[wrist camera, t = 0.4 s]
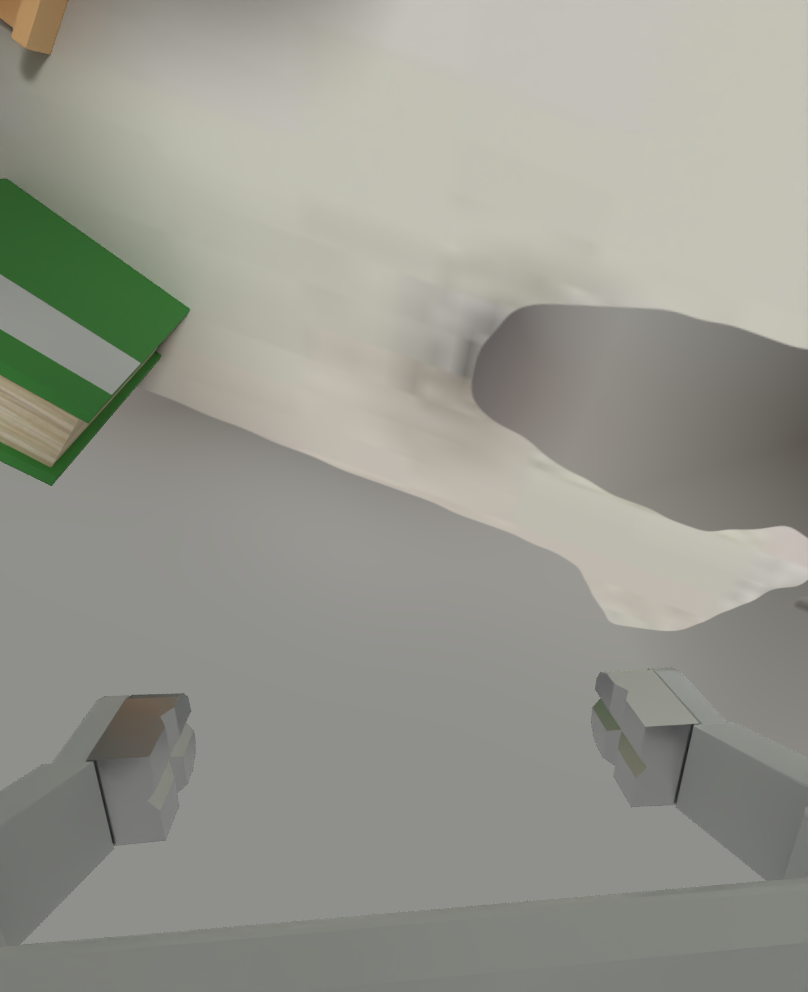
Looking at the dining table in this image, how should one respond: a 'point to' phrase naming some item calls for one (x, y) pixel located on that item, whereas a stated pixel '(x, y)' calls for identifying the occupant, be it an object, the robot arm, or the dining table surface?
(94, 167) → the dining table surface
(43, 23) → the chute
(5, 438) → the hardback book
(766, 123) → the dining table surface
